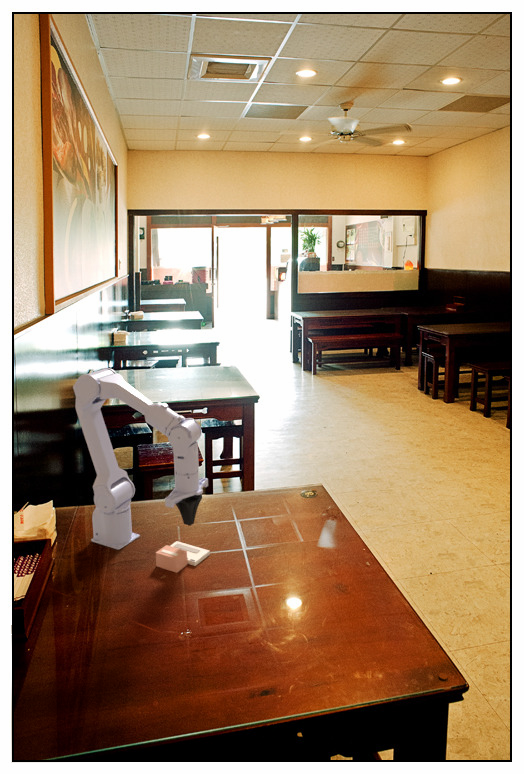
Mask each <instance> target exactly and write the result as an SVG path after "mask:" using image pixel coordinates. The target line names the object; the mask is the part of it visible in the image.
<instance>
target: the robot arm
mask: <svg viewBox="0 0 524 774" xmlns="http://www.w3.org/2000/svg"><path fill="white" fill-rule="evenodd" d="M72 388H73V392H74V396H75V406H74V407H75V411H76V414H77V418H78V421H79V423H80V427H81V429H82V434H83V436H84V439H85V442H86V444H87V448H88V451H89V454H90V457H91V461H92V463H93V466H94V470H95V473H96V478H95V479H94V482H93V485H92V489H93V494H94V495H93V502H94V505H95V508H94V510H93V512H92V516H91V519H92V522H91V523H92V531H93V532H92V533H93V538H91V540H90V541H91V542H92V543H96V544H98V545H102V546H105V547H109V548H112V549H115V550H121V549H122V548H125V546H127V545H129V544H131V543H132V542H134V541H135V540H137V539H138V538H140V534H138V533H135V532H133V530H132V526H133V525H132V511H131V504H132V498H133V497H134V495H135V492H136V488H135V485H134V483H133V482H132V480H131V479H130V478H129V476H128V472H127V470H124V469H122V468H120V467H119V465H118V461H117V458H116V455H115V452H114V449H113V445H112V442H111V439H110V435H109V432H108V429H107V425H106V424H105V420H104V417H103V413H102V410H101V408H103V405H104V403H105V402H106V400H110V399H112V400H113V399H117V400H119V401H121V402H123V403H125V404H126V405H127V406H128V407H131V408H132V409H134V410H135V411H138V412H139V413H140V414H142V415H143V416H144V420H145V422H146V423H147V424H148V425H150V426H151V427H153V428H154V429H155V430H157V431H158V432H160V433H161V434H163V435H164V436H166V437H167V441H168V442H169V444H170V446H171V447H172V452H173V465H174V467H173V468H174V489H172V491H171V492H170V494H169V495H168V496H166V497H165V498H164V504H165V505H164V506H165V507H167V508H171V509H173V508H174V507H175V506H176V507H177V509H178V511H179V513H180V515H181V518H182V522H183V524H184V525H187V526H190V527H191V526H193V525H194V523H195V519H196V515H197V510H198V508H199V505H200V503H201V501H202V499H203V493H204V489H203V488H207V487H209V478H207V477H206V478H205V477H200V469H199V468H200V465H199V463H200V462H199V442H198V440H199V439H200V438H201V436H202V428H201V426H200V424H199V422H198V421H196V419H194V418H192V417H187V418H186V417H185V416H183V415H181V414H178V413H177V412H175V410H172V409H171V408H170V407H169V405H168V404H167V403H166V402H163V403H162V402H161V401H159V402H152V401H151V400H150V399H149V398H147V397H146V396H145V395H143V394H142V393H141V392H140V391H138V390H137V389H135V388H134V387H133V386H132V385H130V384H129V383H128V382H127V381H125V379H124V377H123V375H122V374H120V373H118V372H116V371H115V370H114V369H112V368H110V367H104V368H101V369H100V370H96V371H93V372H90V373H86V374H82V375H80V376H78V378H77V379H76V381H75V383H74V384H73V386H72Z"/></svg>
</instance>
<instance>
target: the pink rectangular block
mask: <svg viewBox="0 0 524 774" xmlns="http://www.w3.org/2000/svg"><path fill="white" fill-rule="evenodd" d="M155 564H156V565H155V566H156V567H158V568H160V569H163V570H167V571H170V572H174V573H176V574H177V573H179V572H180V571H181V570H183V569H184V568H185V567H186V566H188V564H187V551H185V550H181V549H178V548H175V547H171V546H170V545H168V544H166V545H164V546H162V548H160V549H158V550H157V551H156V552H155Z"/></svg>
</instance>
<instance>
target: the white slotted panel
mask: <svg viewBox="0 0 524 774" xmlns="http://www.w3.org/2000/svg"><path fill="white" fill-rule="evenodd" d="M169 546H171V547H175V548H178V549H181V550H185V551H187V565H191V566H193V567H196V566H198V565H199V564H200V563H201V562H203V560H205V559H206V558H207V557H208V556H210V555H211V551H210V550H208V549H205V548H202V547H198V546H196V545H191V544H188V543H184V542H181V541H178V540H176V541H175V542H173V543H172V544H170V545H169Z"/></svg>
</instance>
